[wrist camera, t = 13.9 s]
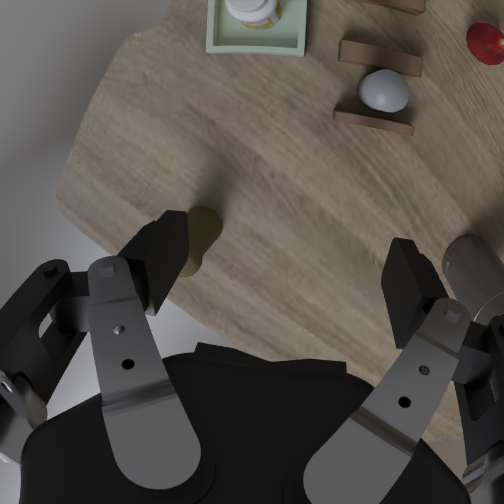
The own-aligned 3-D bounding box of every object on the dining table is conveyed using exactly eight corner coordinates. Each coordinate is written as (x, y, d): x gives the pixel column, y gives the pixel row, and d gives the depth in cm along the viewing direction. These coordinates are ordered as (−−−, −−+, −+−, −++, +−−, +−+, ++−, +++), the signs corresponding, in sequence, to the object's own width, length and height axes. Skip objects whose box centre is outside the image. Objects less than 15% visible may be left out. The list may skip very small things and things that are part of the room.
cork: (189, 201, 45) (159, 237, 36) (227, 214, 45) (206, 255, 36) (181, 234, 48) (153, 274, 39) (216, 247, 49) (195, 291, 40)
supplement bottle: (257, -13, 27) (241, -38, 19) (291, 9, 28) (286, -12, 20) (229, 16, 30) (206, -1, 22) (263, 39, 31) (250, 26, 23)
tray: (307, -23, 26) (307, -29, 24) (303, 56, 32) (303, 55, 30) (215, -23, 27) (210, -29, 25) (211, 53, 33) (206, 52, 31)
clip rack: (415, -45, 20) (422, -51, 18) (406, 131, 35) (413, 136, 32) (341, -62, 21) (343, -71, 19) (332, 118, 36) (334, 121, 33)
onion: (488, 70, 27) (520, 73, 20) (456, 56, 27) (485, 55, 20) (490, 34, 23) (521, 31, 17) (457, 19, 24) (486, 11, 17)
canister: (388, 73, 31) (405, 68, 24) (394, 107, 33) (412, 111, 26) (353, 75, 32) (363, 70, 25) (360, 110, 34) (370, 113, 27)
